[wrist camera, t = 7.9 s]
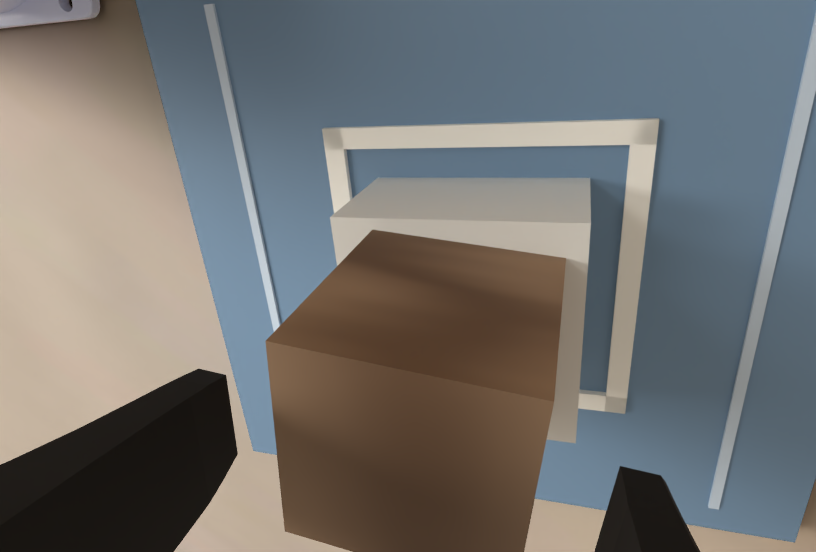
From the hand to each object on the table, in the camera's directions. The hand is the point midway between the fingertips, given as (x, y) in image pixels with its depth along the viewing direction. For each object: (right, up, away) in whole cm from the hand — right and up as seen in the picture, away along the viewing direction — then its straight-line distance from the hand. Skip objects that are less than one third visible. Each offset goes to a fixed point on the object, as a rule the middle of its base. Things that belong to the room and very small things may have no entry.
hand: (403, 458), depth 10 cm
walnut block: (+1, +2, +4) cm, 4 cm away
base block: (+2, +3, +7) cm, 8 cm away
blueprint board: (+3, +4, +8) cm, 9 cm away
